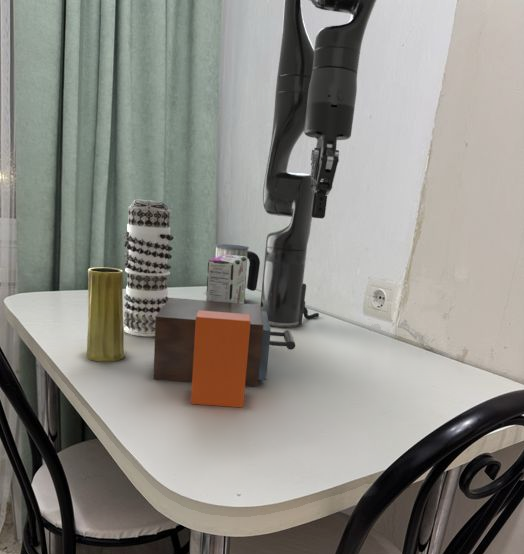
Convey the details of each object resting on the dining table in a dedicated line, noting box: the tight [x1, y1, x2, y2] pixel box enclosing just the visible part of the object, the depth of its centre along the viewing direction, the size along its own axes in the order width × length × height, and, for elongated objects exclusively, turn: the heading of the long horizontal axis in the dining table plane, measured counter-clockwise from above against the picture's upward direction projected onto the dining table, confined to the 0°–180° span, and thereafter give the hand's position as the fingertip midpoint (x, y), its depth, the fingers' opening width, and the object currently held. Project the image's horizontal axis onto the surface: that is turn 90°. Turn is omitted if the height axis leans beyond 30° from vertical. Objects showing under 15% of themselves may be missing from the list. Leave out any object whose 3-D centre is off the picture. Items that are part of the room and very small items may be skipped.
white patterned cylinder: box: [123, 199, 174, 337], centre depth 97 cm, size 9×9×25 cm
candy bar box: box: [205, 255, 248, 304], centre depth 95 cm, size 11×5×16 cm, turn 168°
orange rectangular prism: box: [190, 310, 251, 408], centre depth 68 cm, size 7×4×12 cm, turn 92°
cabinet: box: [153, 297, 263, 387], centre depth 81 cm, size 16×15×10 cm
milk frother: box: [214, 243, 261, 303], centre depth 139 cm, size 14×16×15 cm
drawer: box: [258, 311, 296, 381], centre depth 82 cm, size 19×13×8 cm
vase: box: [85, 267, 126, 363], centre depth 81 cm, size 6×6×14 cm
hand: (317, 217), depth 84 cm, fingers closed
